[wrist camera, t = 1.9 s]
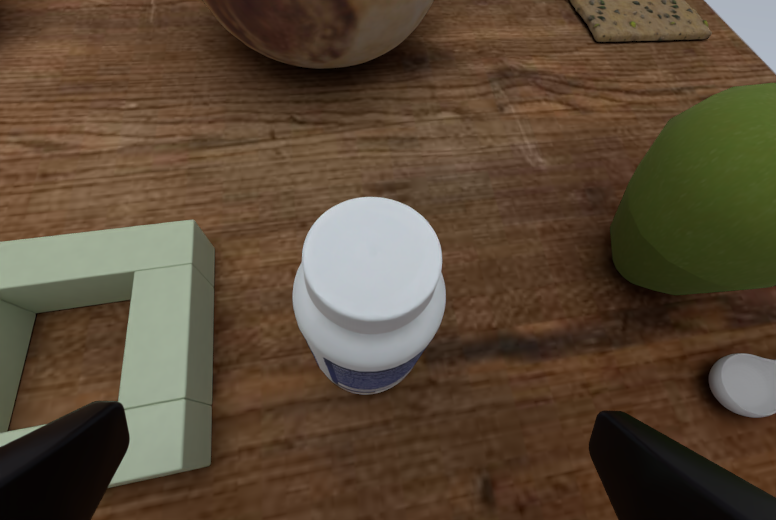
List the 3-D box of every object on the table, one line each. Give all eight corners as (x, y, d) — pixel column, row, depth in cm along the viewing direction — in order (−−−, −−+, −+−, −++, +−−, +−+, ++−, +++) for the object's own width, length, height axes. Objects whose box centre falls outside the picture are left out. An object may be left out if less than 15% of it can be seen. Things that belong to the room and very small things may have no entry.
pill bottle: (438, 338, 19) (505, 249, 10) (368, 420, 17) (379, 395, 8) (364, 274, 20) (369, 149, 12) (292, 343, 18) (233, 252, 10)
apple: (735, 291, 22) (1070, 154, 12) (643, 360, 19) (961, 265, 9) (628, 188, 25) (816, 9, 15) (537, 237, 23) (686, 64, 12)
